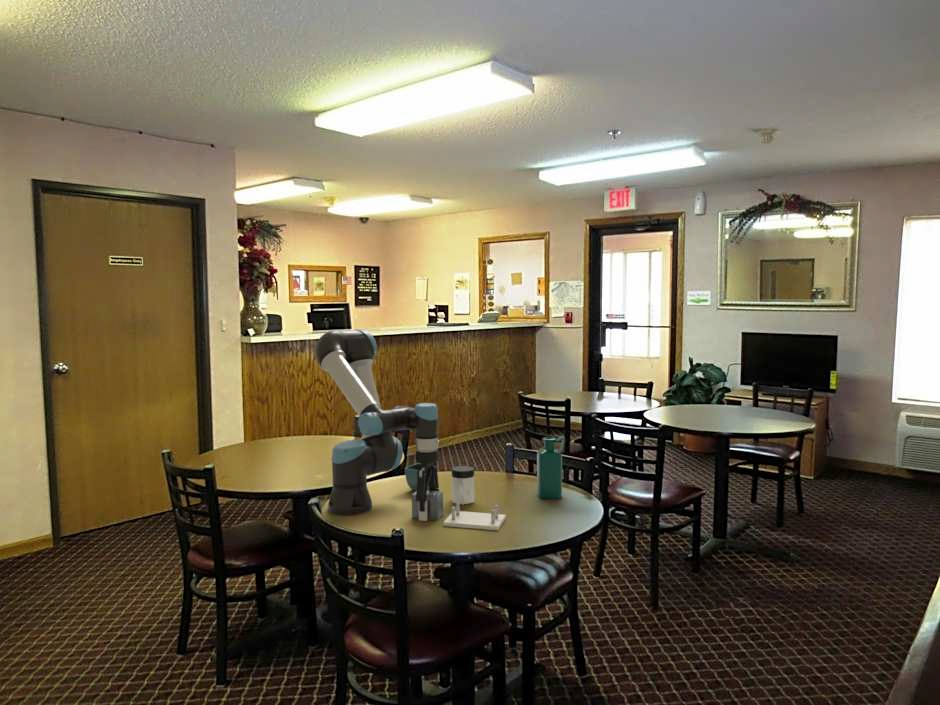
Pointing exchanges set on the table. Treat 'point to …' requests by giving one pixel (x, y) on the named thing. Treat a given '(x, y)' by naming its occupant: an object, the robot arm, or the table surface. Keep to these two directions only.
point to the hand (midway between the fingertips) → (428, 515)
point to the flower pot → (412, 475)
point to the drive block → (429, 505)
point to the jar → (463, 484)
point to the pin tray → (475, 519)
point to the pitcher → (550, 469)
